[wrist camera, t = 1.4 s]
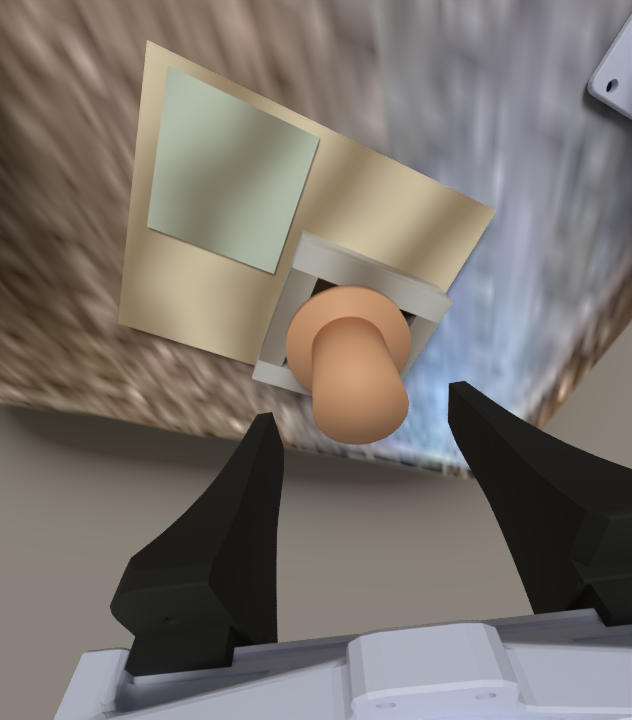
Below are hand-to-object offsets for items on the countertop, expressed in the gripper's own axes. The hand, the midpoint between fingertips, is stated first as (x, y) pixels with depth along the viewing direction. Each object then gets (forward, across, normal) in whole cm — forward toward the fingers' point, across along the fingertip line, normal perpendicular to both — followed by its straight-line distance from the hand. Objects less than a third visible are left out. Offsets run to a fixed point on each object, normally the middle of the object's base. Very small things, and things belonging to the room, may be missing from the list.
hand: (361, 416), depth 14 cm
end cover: (+9, 0, 0) cm, 9 cm away
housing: (+10, +2, -4) cm, 11 cm away
